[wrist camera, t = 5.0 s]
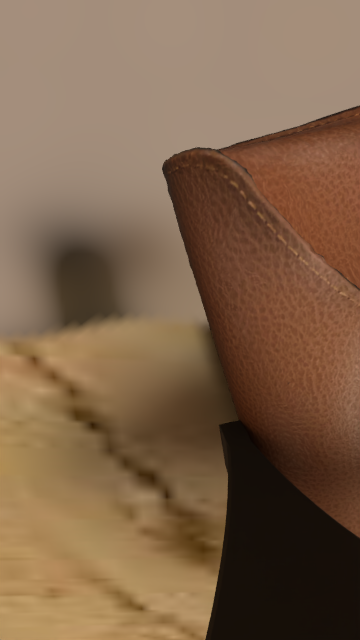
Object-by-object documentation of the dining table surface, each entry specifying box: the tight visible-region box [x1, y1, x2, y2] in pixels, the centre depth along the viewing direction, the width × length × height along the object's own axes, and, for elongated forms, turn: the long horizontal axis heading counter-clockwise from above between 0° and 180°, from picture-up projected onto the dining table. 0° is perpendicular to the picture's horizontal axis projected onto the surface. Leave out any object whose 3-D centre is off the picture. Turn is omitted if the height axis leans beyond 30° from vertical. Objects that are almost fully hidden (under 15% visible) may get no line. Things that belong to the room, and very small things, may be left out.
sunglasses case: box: [162, 105, 360, 538], centre depth 11 cm, size 18×7×7 cm
